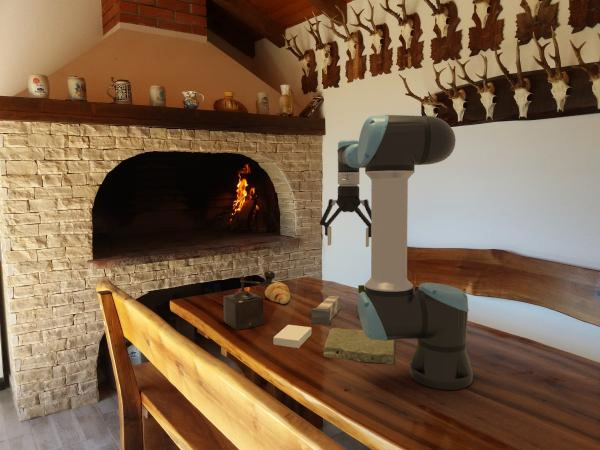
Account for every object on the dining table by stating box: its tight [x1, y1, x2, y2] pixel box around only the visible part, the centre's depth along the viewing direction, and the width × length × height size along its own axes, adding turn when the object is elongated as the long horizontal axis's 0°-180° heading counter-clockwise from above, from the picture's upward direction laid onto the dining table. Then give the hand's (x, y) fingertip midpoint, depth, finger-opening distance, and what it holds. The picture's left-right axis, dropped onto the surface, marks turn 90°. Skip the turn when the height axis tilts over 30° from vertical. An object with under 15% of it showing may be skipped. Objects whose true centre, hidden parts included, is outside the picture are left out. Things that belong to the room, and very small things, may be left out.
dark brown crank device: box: [222, 270, 276, 331], centre depth 155 cm, size 16×11×18 cm
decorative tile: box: [323, 327, 396, 365], centre depth 133 cm, size 19×20×4 cm
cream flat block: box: [272, 324, 313, 349], centre depth 140 cm, size 3×8×12 cm
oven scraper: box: [311, 295, 341, 327], centre depth 162 cm, size 18×6×5 cm, turn 160°
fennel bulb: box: [356, 284, 365, 318], centre depth 159 cm, size 6×5×12 cm
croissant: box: [264, 281, 291, 305], centre depth 184 cm, size 21×10×8 cm, turn 20°
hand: (348, 245), depth 160 cm, fingers open, 13 cm apart
